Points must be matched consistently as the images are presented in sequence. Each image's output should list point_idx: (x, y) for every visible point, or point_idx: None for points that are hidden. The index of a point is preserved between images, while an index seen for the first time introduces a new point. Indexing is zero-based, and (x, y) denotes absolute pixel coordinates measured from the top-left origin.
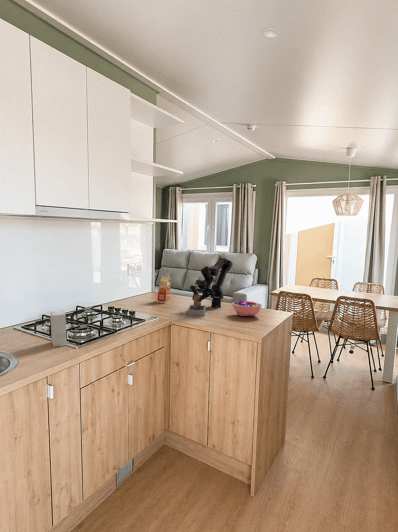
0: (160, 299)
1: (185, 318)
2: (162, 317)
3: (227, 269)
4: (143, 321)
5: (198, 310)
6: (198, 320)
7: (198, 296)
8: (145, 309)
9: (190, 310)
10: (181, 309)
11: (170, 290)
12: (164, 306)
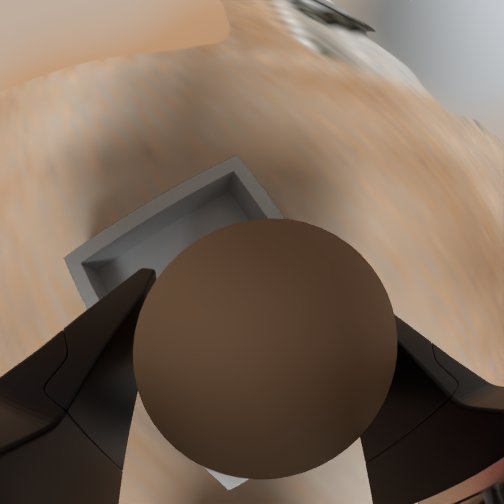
0: None
1: (177, 99)
2: (304, 58)
3: None
4: (299, 8)
5: (125, 216)
6: (73, 124)
7: (169, 271)
8: (469, 155)
9: (211, 171)
10: (404, 310)
11: None
12: (489, 280)
